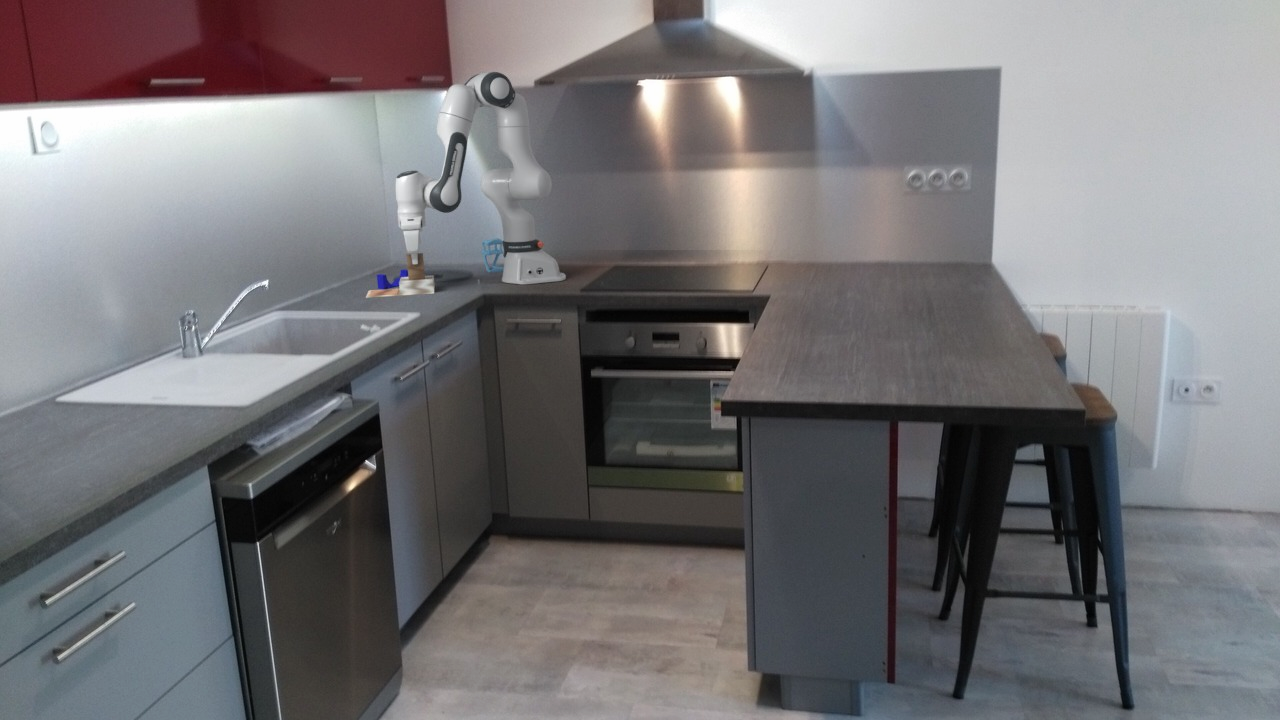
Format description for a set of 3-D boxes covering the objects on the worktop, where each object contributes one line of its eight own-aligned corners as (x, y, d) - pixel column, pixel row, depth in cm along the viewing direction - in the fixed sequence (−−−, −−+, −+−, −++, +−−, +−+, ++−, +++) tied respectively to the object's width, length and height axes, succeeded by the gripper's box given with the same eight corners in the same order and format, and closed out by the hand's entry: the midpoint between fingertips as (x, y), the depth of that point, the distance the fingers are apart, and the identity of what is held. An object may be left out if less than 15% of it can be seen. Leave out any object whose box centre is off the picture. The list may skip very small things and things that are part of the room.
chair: (499, 267, 403) (496, 236, 400) (507, 270, 396) (505, 238, 393) (480, 270, 399) (477, 238, 396) (488, 272, 392) (486, 240, 389)
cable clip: (402, 285, 372) (400, 269, 371) (411, 287, 370) (409, 270, 368) (375, 291, 363) (373, 274, 362) (384, 293, 360) (382, 275, 359)
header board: (435, 289, 363) (433, 274, 362) (434, 296, 350) (433, 281, 349) (369, 293, 360) (367, 278, 358) (365, 300, 347) (364, 285, 346)
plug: (425, 279, 357) (422, 253, 354) (424, 281, 354) (422, 254, 351) (409, 280, 356) (407, 253, 354) (408, 282, 353) (406, 255, 351)
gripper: (403, 218, 359) (407, 258, 363) (400, 225, 340) (404, 268, 343) (422, 217, 360) (426, 257, 364) (420, 224, 341) (424, 267, 344)
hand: (415, 262), depth 353 cm, fingers closed on plug, 3 cm apart
